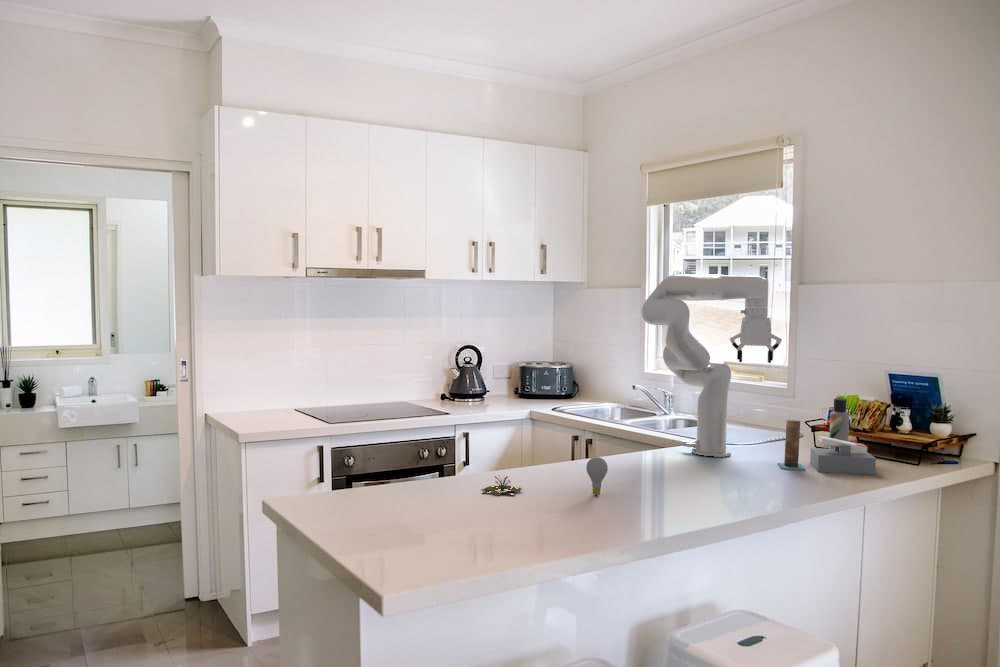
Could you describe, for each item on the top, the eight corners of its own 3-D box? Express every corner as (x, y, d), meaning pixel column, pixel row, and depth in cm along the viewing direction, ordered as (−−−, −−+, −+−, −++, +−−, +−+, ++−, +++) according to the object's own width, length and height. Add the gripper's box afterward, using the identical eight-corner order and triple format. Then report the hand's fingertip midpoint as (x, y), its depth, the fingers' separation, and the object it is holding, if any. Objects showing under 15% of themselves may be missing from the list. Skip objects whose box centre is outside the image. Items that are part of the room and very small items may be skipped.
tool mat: (781, 469, 230) (781, 467, 230) (777, 464, 236) (777, 462, 236) (805, 470, 228) (805, 468, 228) (801, 465, 235) (801, 464, 235)
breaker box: (818, 471, 227) (818, 445, 227) (810, 463, 239) (810, 438, 238) (875, 474, 224) (876, 448, 223) (864, 466, 235) (865, 441, 235)
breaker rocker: (821, 442, 230) (822, 437, 230) (818, 440, 235) (819, 434, 234) (866, 452, 227) (867, 447, 227) (862, 449, 232) (863, 444, 232)
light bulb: (608, 494, 196) (609, 456, 195) (604, 499, 190) (605, 460, 190) (588, 492, 197) (589, 454, 197) (583, 497, 192) (584, 458, 192)
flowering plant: (518, 500, 190) (519, 482, 190) (473, 496, 193) (473, 479, 193) (529, 489, 201) (529, 472, 201) (486, 486, 204) (486, 469, 204)
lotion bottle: (844, 456, 251) (846, 397, 250) (850, 460, 245) (852, 399, 244) (826, 456, 251) (828, 396, 250) (832, 459, 246) (834, 398, 245)
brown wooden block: (785, 466, 231) (787, 421, 230) (783, 463, 235) (785, 419, 234) (799, 467, 230) (801, 422, 229) (796, 464, 234) (799, 420, 233)
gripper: (731, 312, 260) (730, 362, 260) (784, 313, 256) (782, 363, 257) (729, 312, 267) (728, 360, 268) (780, 313, 263) (779, 362, 264)
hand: (754, 362), depth 262 cm, fingers open, 9 cm apart
